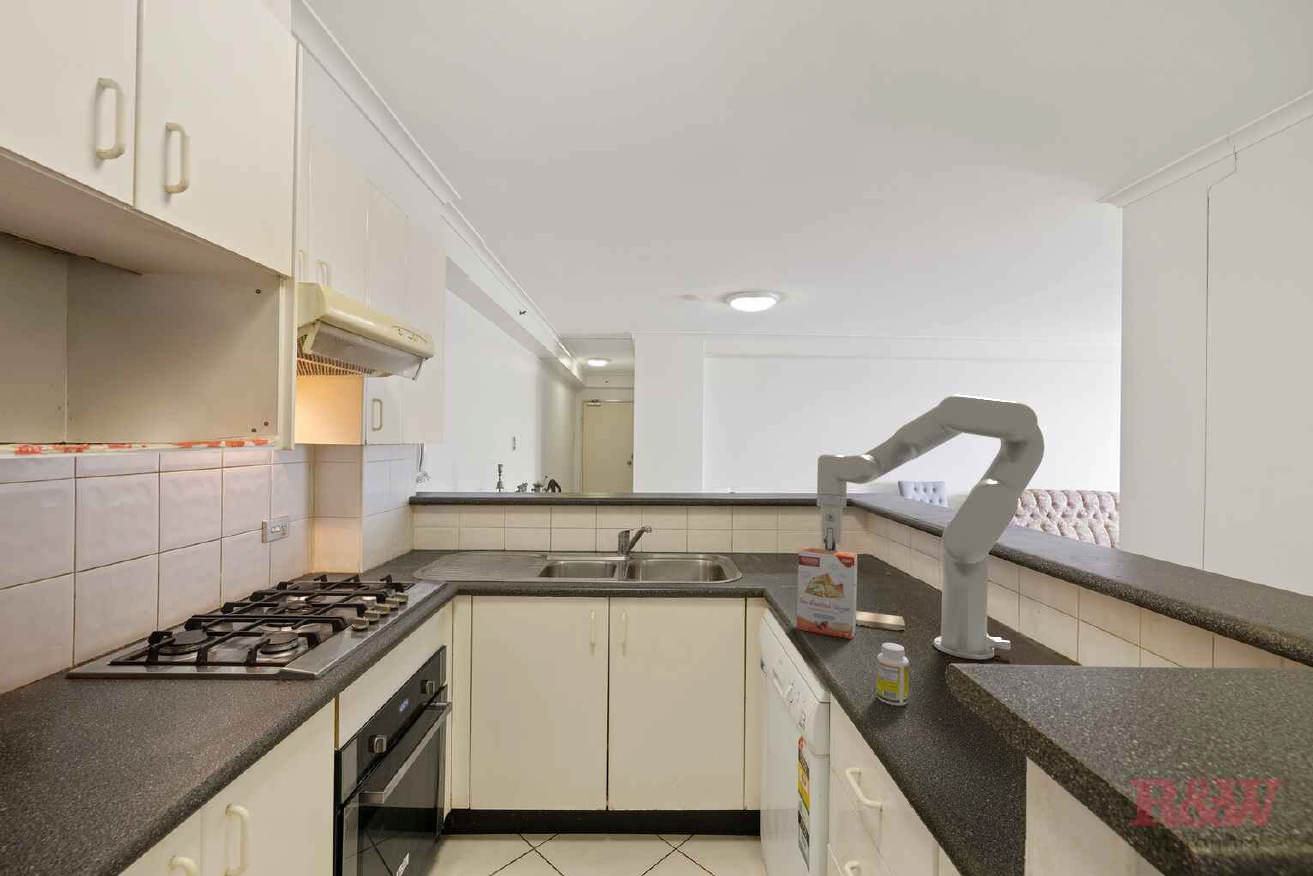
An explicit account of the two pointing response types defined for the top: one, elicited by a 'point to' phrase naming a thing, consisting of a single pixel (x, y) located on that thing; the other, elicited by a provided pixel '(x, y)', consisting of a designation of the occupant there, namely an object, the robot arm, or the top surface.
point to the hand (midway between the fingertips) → (830, 568)
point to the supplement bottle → (892, 675)
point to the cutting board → (880, 620)
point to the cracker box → (827, 592)
